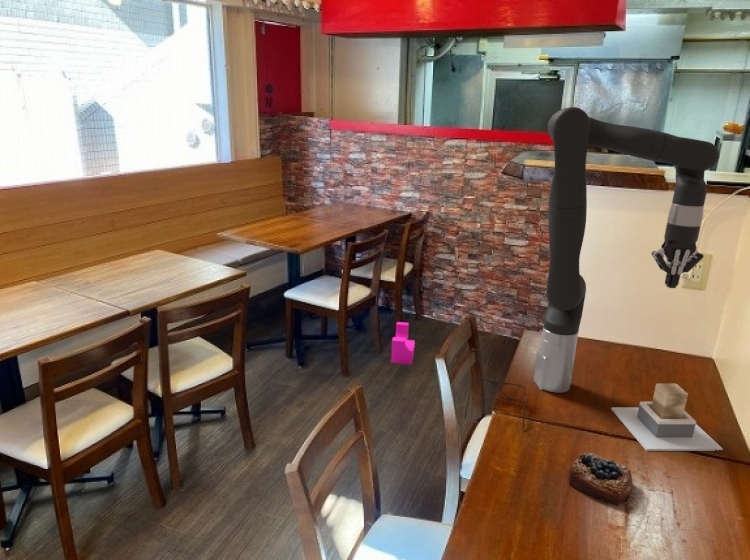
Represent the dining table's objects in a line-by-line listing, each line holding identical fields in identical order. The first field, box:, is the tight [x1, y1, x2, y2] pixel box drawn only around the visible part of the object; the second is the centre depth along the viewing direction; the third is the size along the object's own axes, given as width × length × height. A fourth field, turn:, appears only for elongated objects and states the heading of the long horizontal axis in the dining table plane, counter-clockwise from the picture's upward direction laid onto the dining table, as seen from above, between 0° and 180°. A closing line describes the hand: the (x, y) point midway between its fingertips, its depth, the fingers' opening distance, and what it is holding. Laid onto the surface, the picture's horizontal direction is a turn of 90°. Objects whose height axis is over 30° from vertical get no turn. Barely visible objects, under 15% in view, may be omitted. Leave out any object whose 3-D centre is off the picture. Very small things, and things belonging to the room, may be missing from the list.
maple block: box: [651, 383, 689, 419], centre depth 132 cm, size 5×5×7 cm
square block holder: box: [611, 401, 724, 452], centre depth 134 cm, size 18×18×5 cm
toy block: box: [391, 321, 416, 365], centre depth 171 cm, size 15×6×8 cm, turn 172°
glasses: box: [464, 378, 526, 431], centre depth 140 cm, size 14×15×5 cm
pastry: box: [568, 451, 633, 506], centre depth 113 cm, size 11×12×6 cm
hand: (670, 287), depth 143 cm, fingers closed
